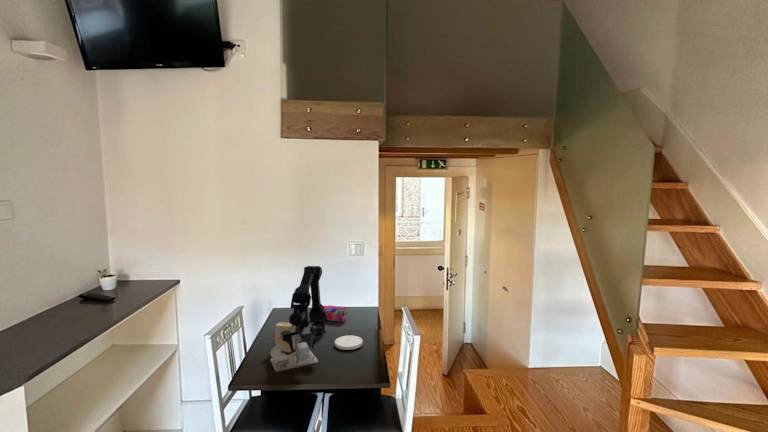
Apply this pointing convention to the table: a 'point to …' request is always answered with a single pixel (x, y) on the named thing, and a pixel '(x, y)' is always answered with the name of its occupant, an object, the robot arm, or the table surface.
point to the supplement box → (279, 341)
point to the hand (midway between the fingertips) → (302, 350)
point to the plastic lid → (348, 342)
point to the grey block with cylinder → (302, 351)
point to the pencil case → (335, 313)
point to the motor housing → (289, 359)
